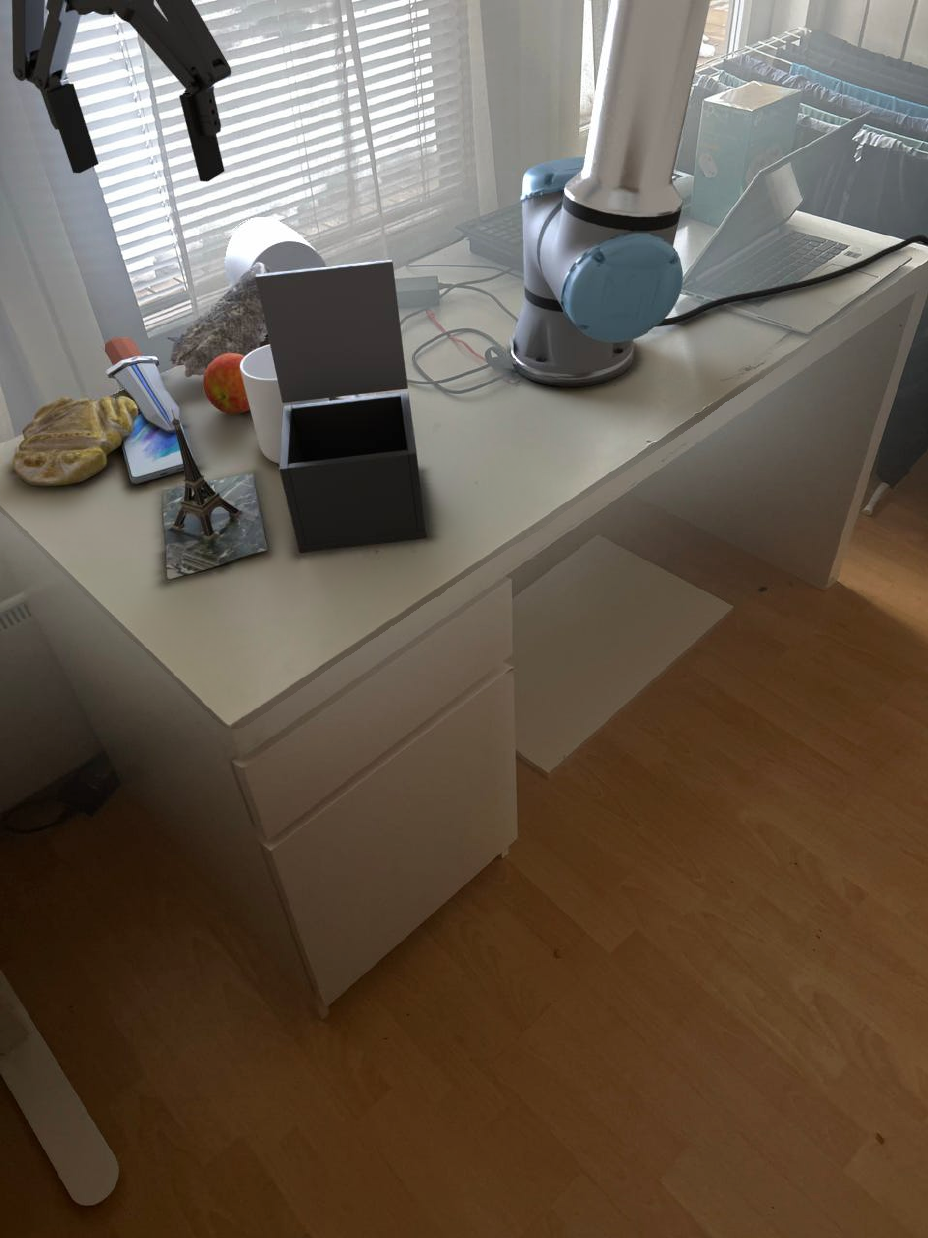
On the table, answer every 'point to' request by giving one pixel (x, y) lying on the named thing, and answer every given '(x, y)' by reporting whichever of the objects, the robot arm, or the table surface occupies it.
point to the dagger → (141, 382)
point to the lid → (334, 330)
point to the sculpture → (72, 439)
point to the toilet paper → (268, 249)
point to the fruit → (226, 384)
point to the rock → (224, 326)
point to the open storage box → (351, 472)
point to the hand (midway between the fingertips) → (147, 172)
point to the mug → (266, 400)
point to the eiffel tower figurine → (209, 518)
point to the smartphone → (151, 451)
